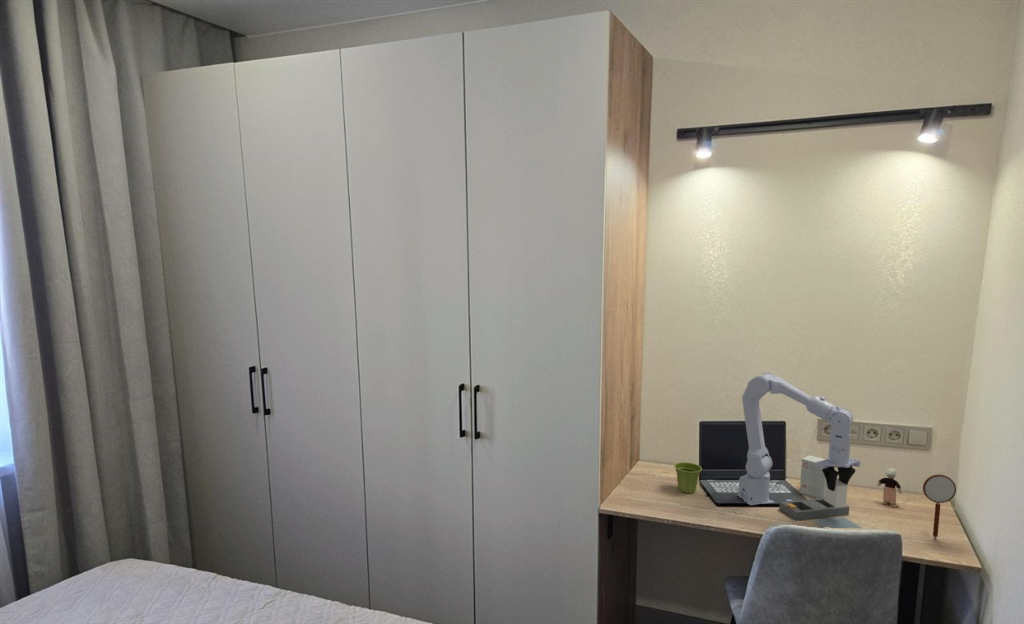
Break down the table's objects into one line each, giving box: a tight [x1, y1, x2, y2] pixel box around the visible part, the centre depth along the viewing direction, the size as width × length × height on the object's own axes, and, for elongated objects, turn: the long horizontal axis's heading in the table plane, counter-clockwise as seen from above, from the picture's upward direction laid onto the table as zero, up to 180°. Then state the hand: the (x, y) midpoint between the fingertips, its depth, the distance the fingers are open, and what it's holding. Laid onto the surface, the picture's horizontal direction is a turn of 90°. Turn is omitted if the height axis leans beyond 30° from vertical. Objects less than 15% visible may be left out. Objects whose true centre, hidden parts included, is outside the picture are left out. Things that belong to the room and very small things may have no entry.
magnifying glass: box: [922, 474, 957, 540], centre depth 176 cm, size 9×2×20 cm, turn 77°
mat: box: [811, 516, 863, 528], centre depth 184 cm, size 12×10×1 cm
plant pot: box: [674, 462, 703, 494], centre depth 211 cm, size 9×9×9 cm
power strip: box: [779, 498, 850, 521], centre depth 193 cm, size 20×8×4 cm, turn 104°
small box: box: [799, 454, 827, 499], centre depth 208 cm, size 8×6×13 cm
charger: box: [824, 478, 848, 507], centre depth 188 cm, size 4×5×8 cm
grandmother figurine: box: [876, 467, 903, 508], centre depth 201 cm, size 8×4×13 cm, turn 47°
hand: (836, 489), depth 187 cm, fingers closed on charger, 4 cm apart
